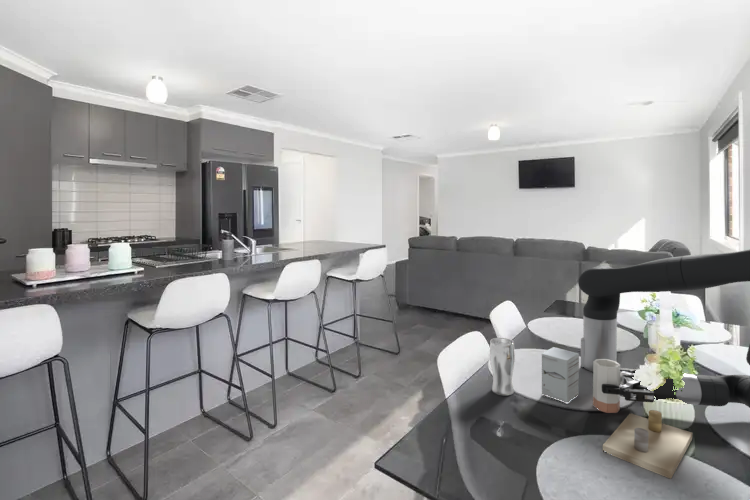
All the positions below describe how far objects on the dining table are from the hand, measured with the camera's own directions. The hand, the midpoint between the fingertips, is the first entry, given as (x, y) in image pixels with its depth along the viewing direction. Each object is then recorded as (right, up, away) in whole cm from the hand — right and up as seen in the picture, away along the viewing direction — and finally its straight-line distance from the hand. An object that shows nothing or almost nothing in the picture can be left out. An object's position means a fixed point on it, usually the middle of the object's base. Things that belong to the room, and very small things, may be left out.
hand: (598, 381), depth 100 cm
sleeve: (+2, -7, 0) cm, 7 cm away
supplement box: (-7, -7, +7) cm, 12 cm away
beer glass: (-21, -7, +12) cm, 25 cm away
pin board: (+2, -9, -16) cm, 18 cm away
